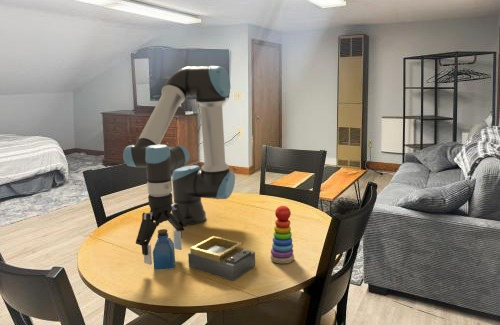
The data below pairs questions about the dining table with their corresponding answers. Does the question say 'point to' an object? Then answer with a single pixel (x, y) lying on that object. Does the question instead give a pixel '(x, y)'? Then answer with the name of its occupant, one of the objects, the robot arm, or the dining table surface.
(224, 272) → the gray gold-framed box
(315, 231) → the dining table surface
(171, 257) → the perfume bottle
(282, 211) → the stacking toy
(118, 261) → the dining table surface
